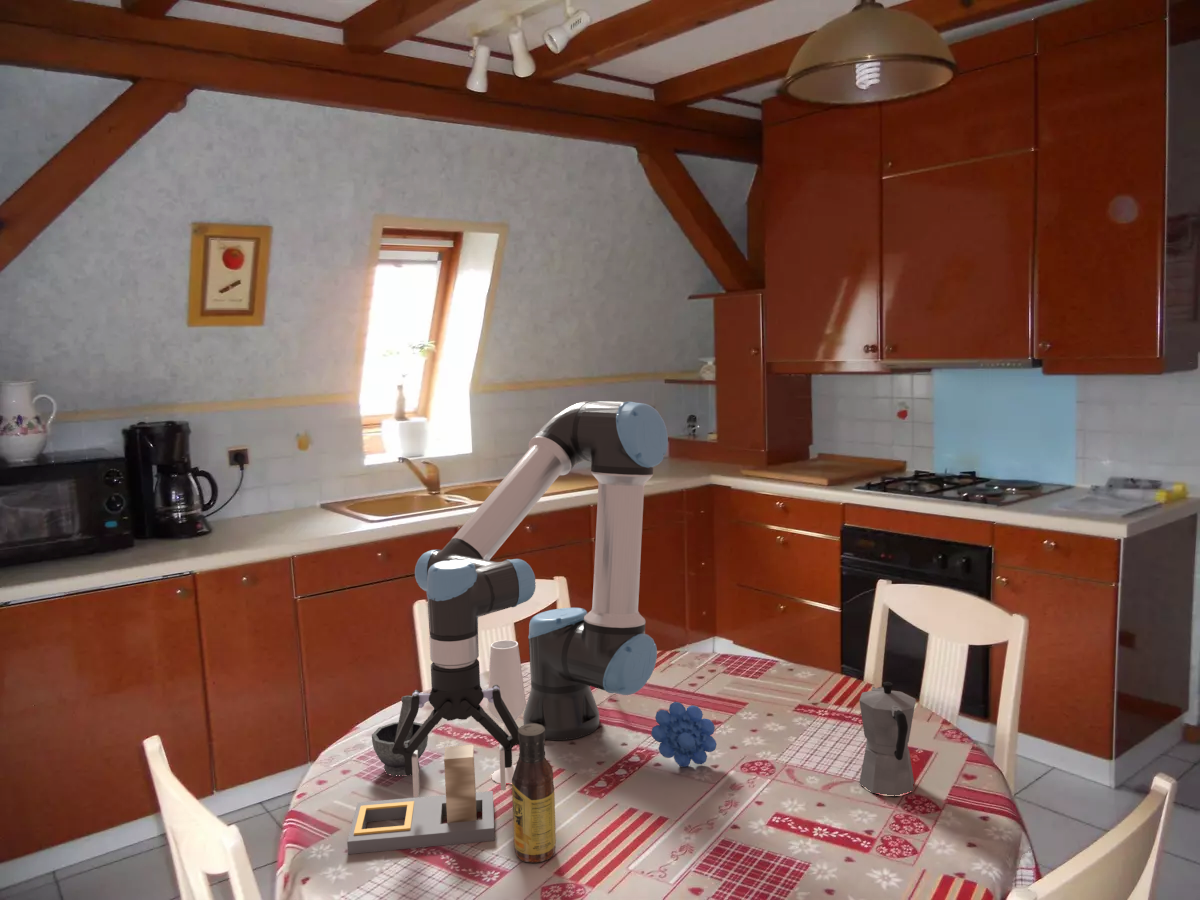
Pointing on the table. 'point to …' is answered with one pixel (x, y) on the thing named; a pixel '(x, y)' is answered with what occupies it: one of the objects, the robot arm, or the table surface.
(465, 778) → the wooden peg
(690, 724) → the blue flower
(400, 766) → the mortar and pestle
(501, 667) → the champagne flute
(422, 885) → the table surface
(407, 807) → the peg board
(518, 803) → the sauce bottle
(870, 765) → the coffeepot
